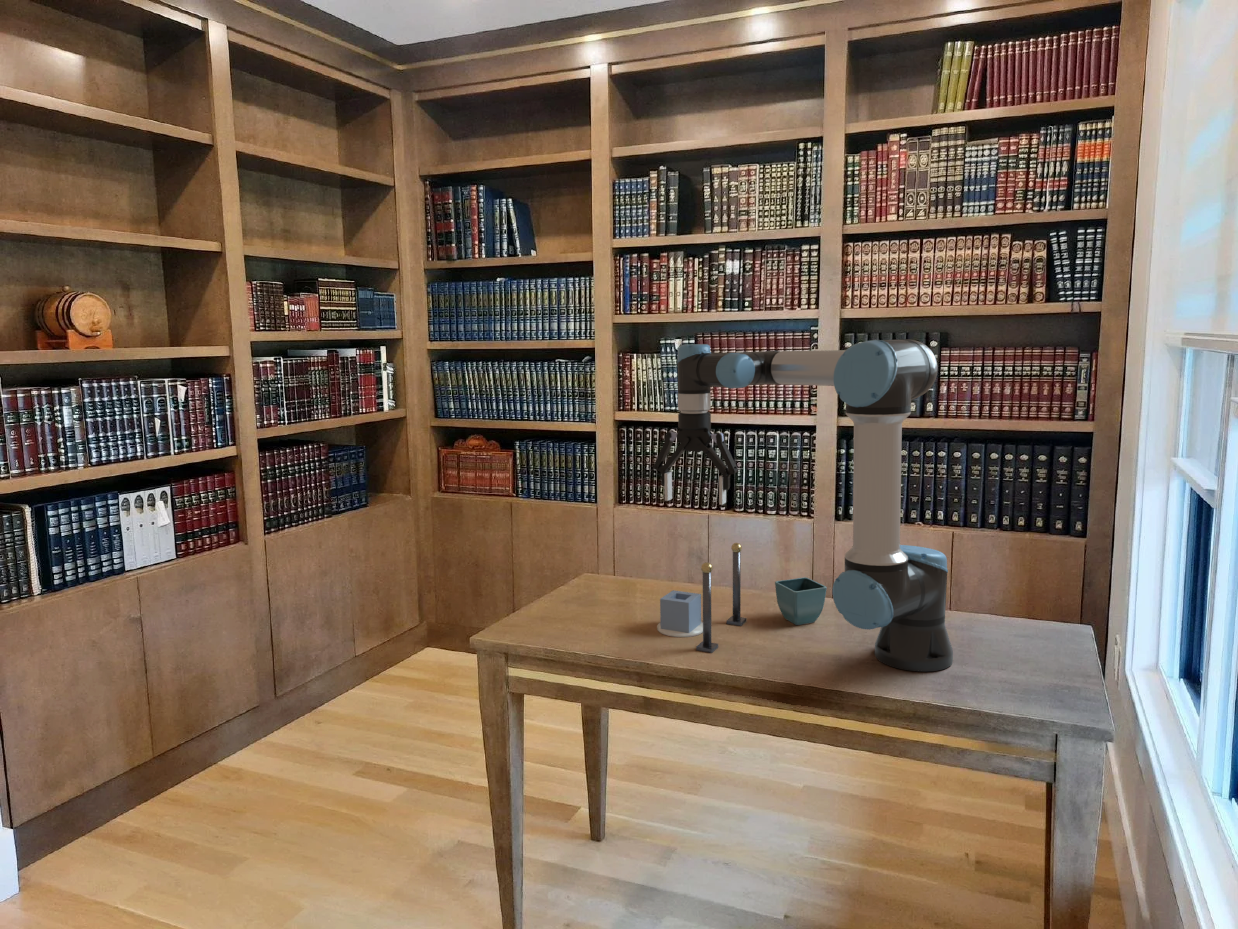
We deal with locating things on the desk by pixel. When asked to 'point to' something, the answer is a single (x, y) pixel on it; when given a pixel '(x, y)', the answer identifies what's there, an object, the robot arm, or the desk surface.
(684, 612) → the hollow square tube
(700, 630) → the white round disc
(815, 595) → the flower pot
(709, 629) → the gold-tipped post pair
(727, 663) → the desk surface
